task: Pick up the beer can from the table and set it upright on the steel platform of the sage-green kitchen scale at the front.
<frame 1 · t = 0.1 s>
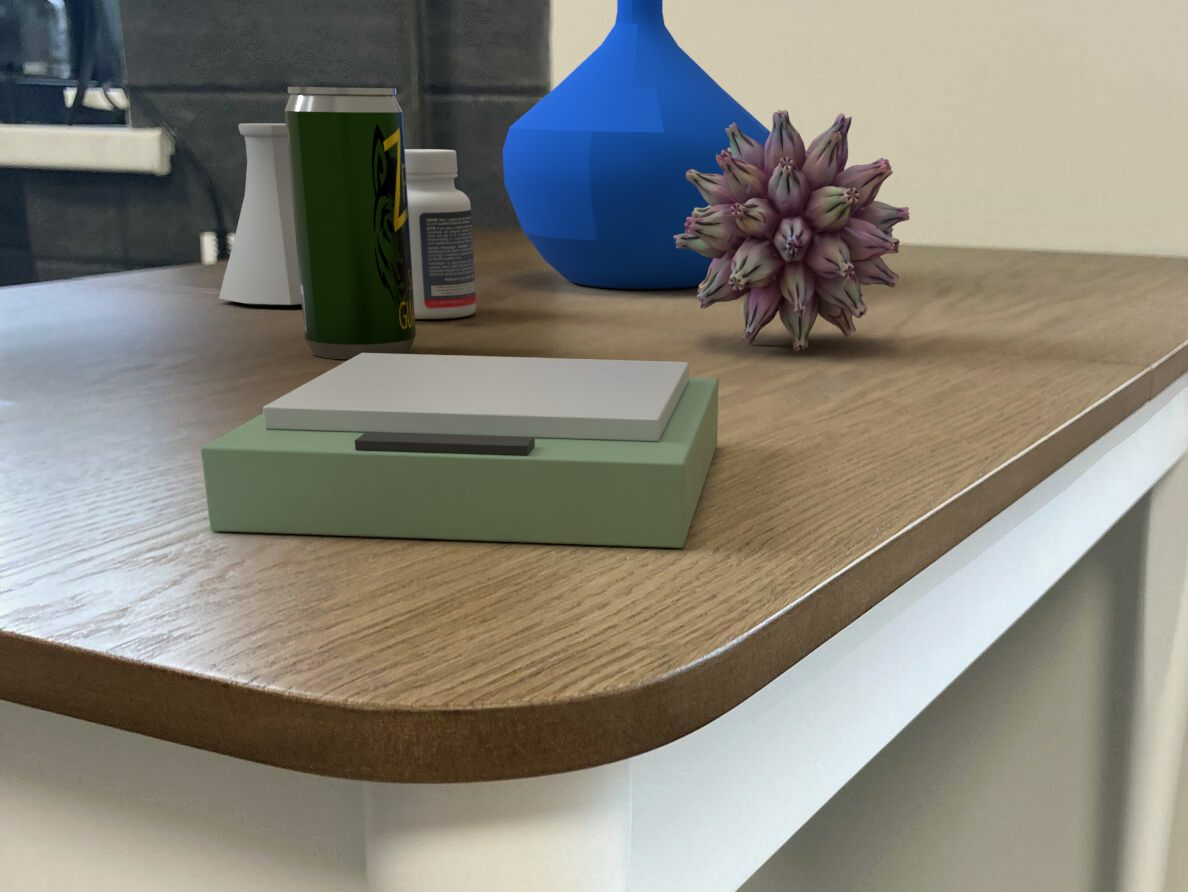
beer can: (362, 355, 75), on the table
vase: (640, 284, 105), on the table
flower: (788, 349, 79), on the table
pill bottle: (430, 318, 88), on the table
flask: (285, 304, 92), on the table
scale: (493, 483, 50), on the table
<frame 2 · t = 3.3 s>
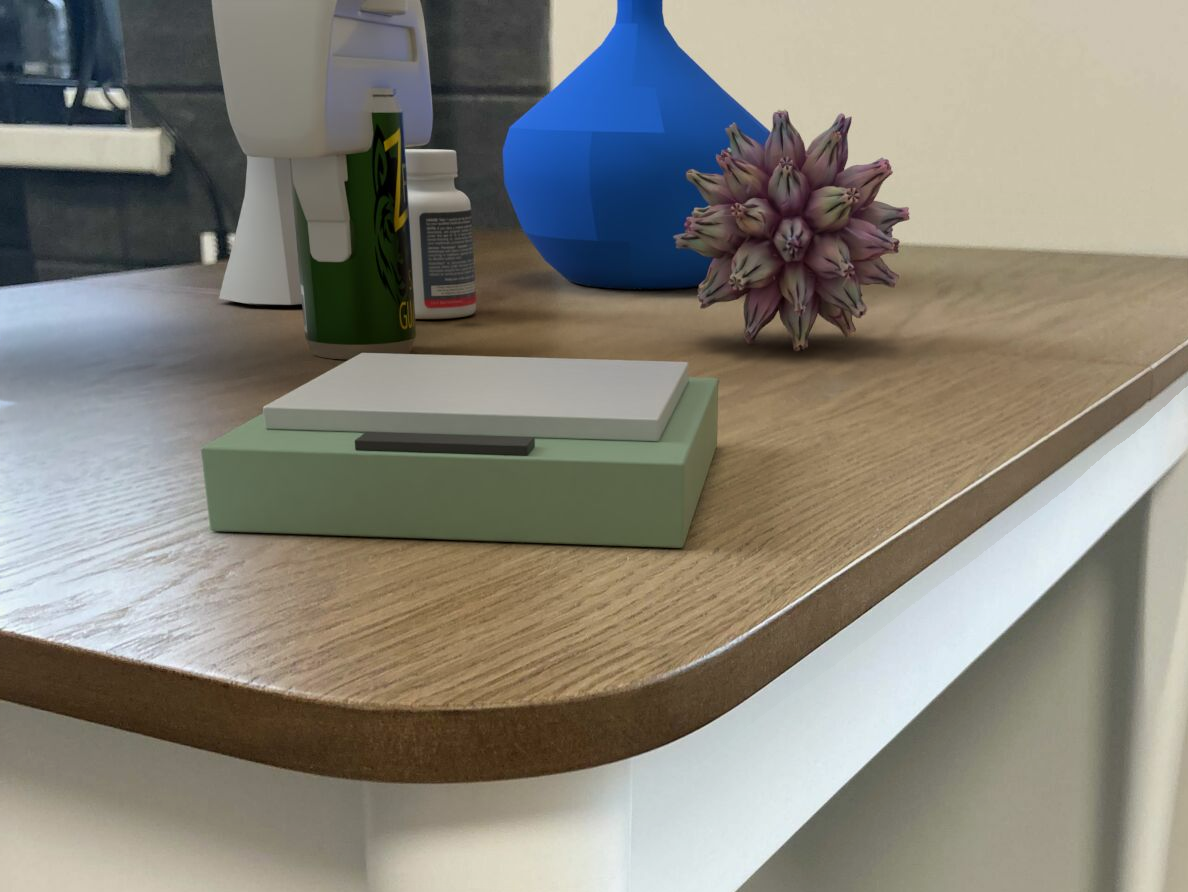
hand: (355, 253, 73), 5 cm above the table, tool pointing down, fingers closed on beer can, 5 cm apart
beer can: (362, 356, 75), on the table, touching gripper
everything else where it was.
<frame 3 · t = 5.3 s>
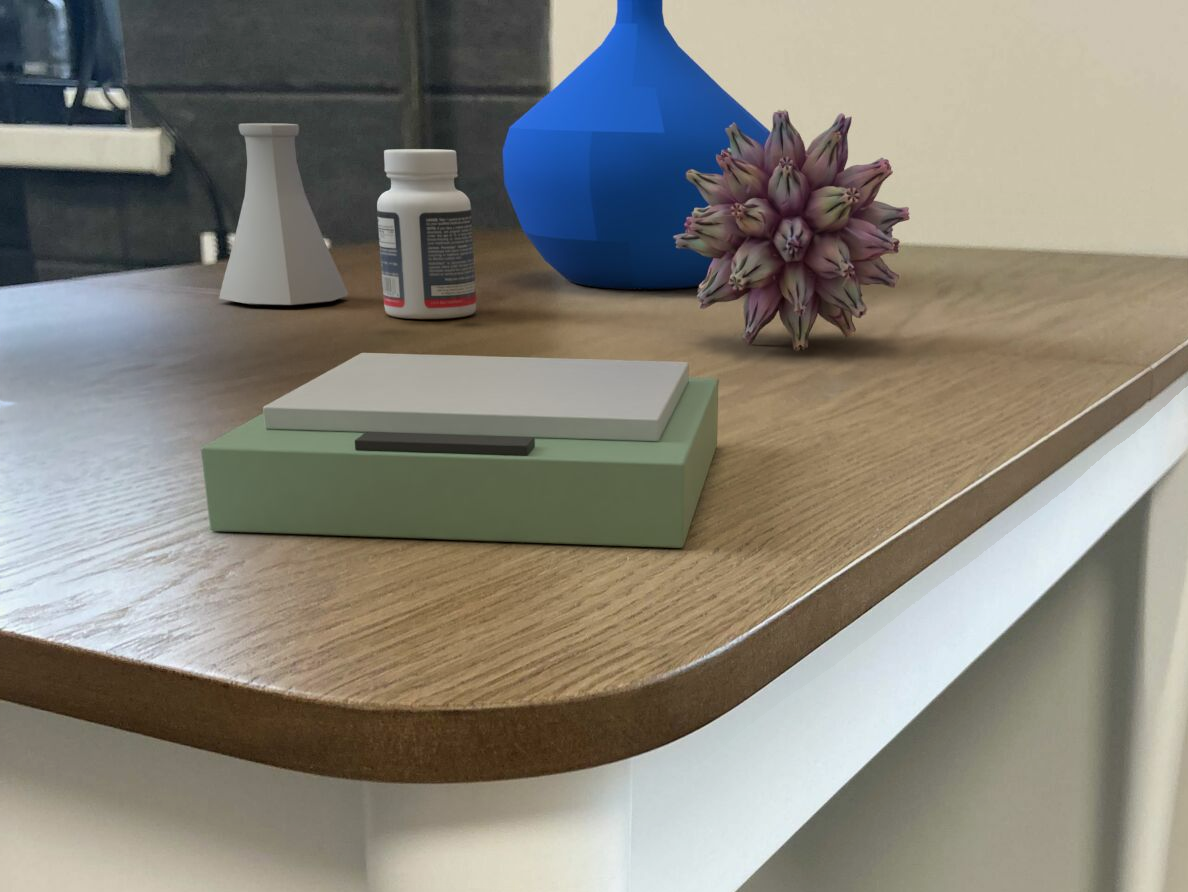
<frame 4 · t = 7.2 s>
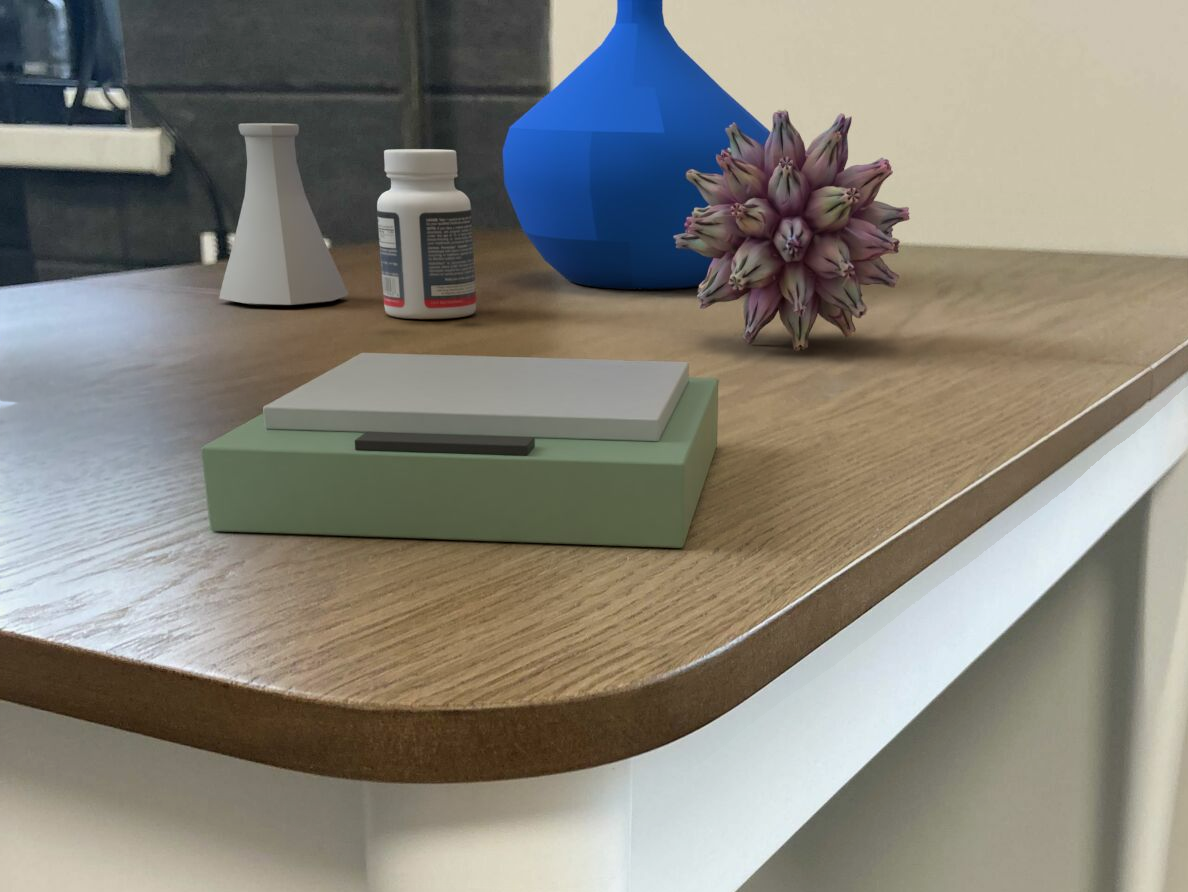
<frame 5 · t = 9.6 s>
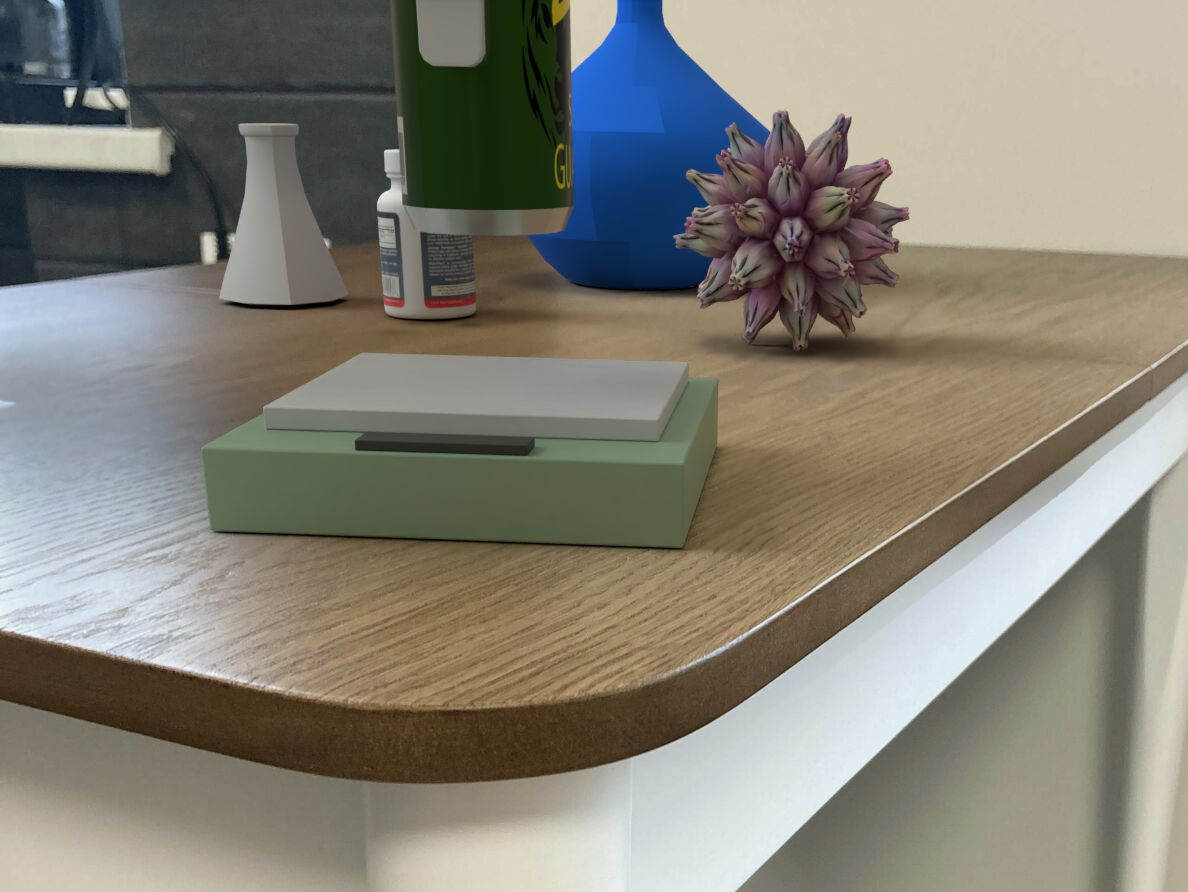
hand: (481, 69, 46), 13 cm above the table, tool pointing down, fingers closed on beer can, 5 cm apart
beer can: (490, 235, 48), point 8 cm above the table, touching gripper
everything else where it was.
when the fingers open (8 cm above the table, at t = 11.3 s): beer can stays where it is, resting on scale.
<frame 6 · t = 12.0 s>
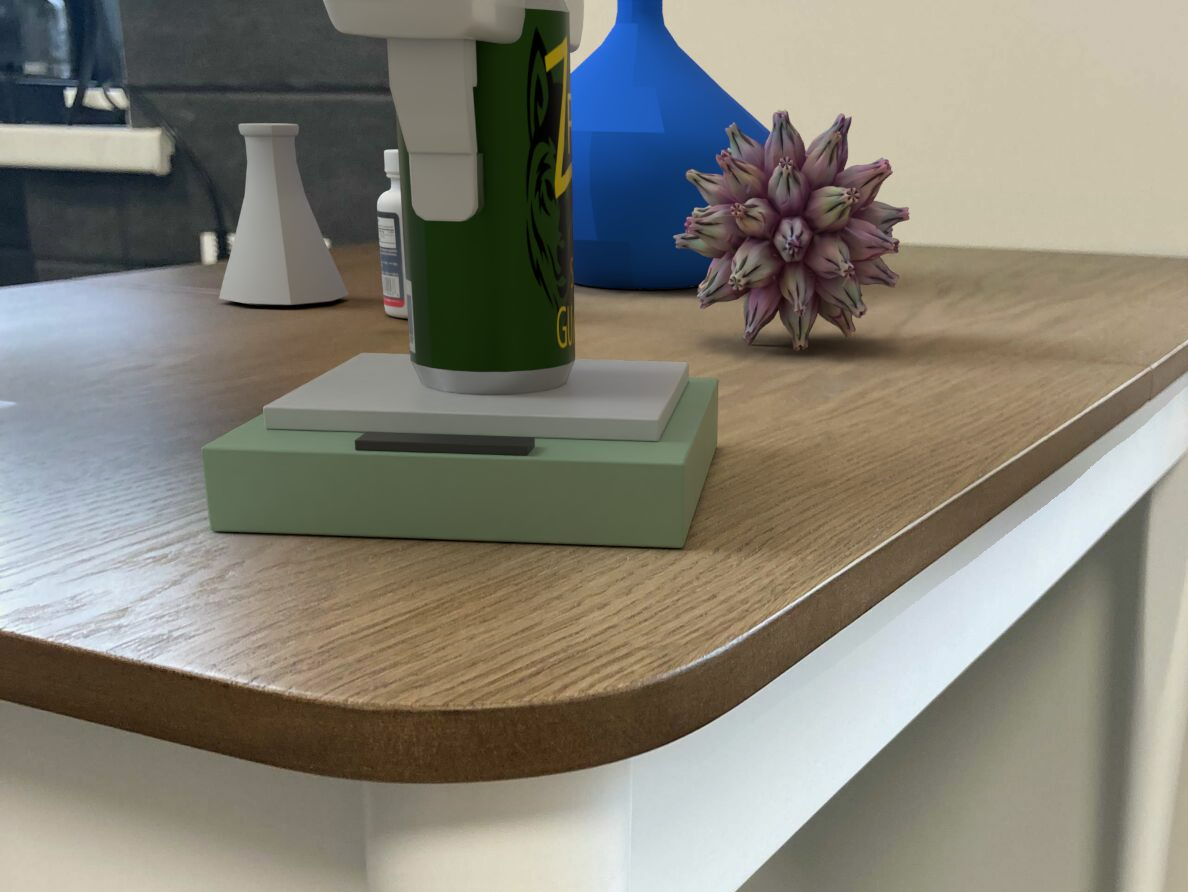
hand: (484, 208, 48), 9 cm above the table, tool pointing down, fingers open, 8 cm apart
beer can: (494, 387, 50), point 3 cm above the table, touching scale
everything else where it was.
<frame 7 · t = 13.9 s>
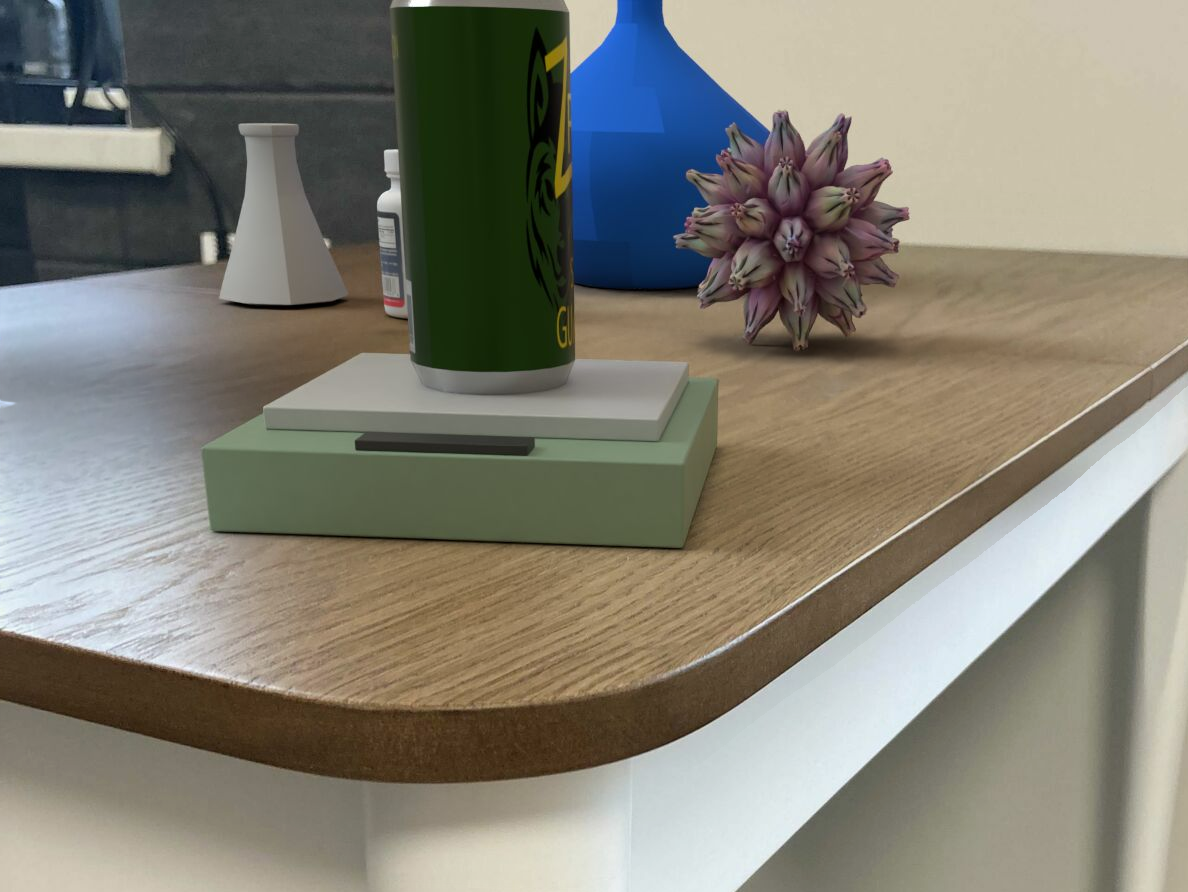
nothing on the table moved.
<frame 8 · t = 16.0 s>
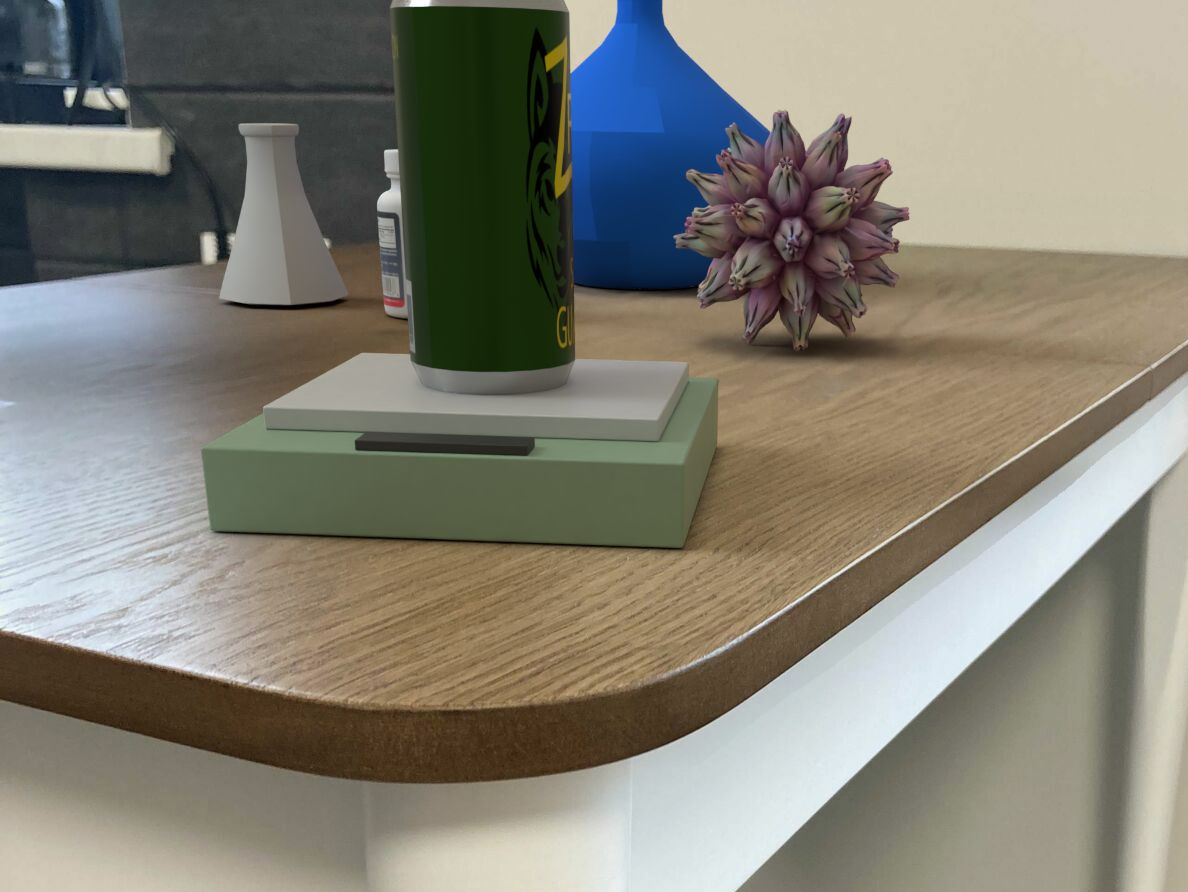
nothing on the table moved.
at the end: beer can inside the target area on the scale (0.2 cm from its centre), point 3.0 cm above the scale's base; beer can tilted 0°; the gripper is holding nothing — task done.
